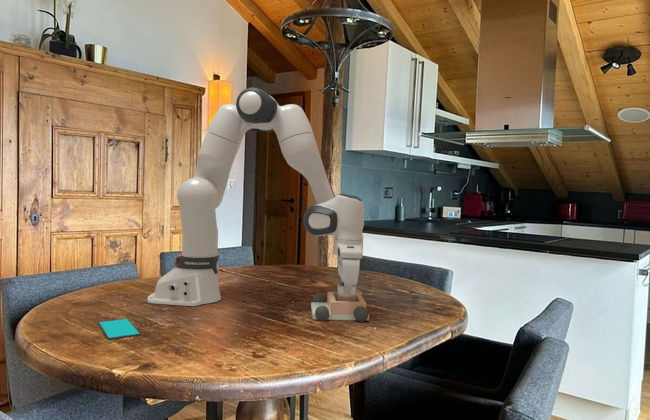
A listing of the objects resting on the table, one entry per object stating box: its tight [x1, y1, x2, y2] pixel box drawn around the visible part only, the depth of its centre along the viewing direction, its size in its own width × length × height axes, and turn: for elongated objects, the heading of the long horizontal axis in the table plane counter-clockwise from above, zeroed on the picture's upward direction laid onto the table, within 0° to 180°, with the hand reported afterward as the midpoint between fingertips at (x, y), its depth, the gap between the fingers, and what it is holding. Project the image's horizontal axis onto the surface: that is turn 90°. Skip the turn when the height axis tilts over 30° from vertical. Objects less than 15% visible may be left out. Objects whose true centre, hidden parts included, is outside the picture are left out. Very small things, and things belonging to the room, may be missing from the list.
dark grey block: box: [336, 281, 357, 302], centre depth 139 cm, size 5×4×6 cm
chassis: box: [310, 291, 370, 323], centre depth 139 cm, size 16×17×5 cm
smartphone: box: [97, 318, 142, 341], centre depth 115 cm, size 7×1×15 cm
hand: (346, 294), depth 139 cm, fingers closed on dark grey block, 4 cm apart
